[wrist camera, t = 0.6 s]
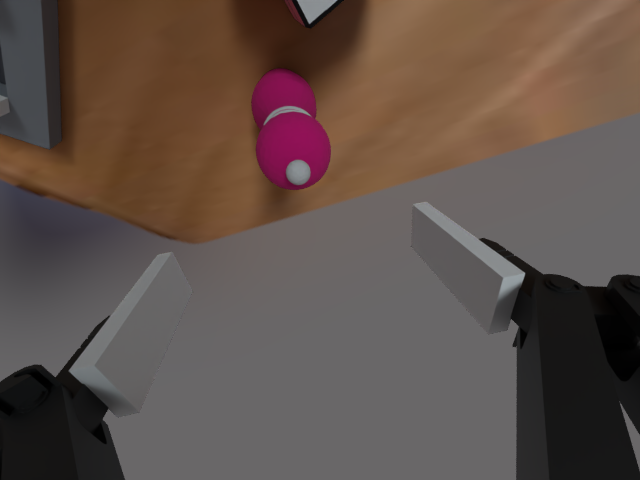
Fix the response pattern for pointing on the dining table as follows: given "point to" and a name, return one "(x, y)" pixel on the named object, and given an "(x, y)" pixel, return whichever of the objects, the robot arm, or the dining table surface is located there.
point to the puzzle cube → (311, 10)
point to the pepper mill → (289, 131)
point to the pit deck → (30, 72)
